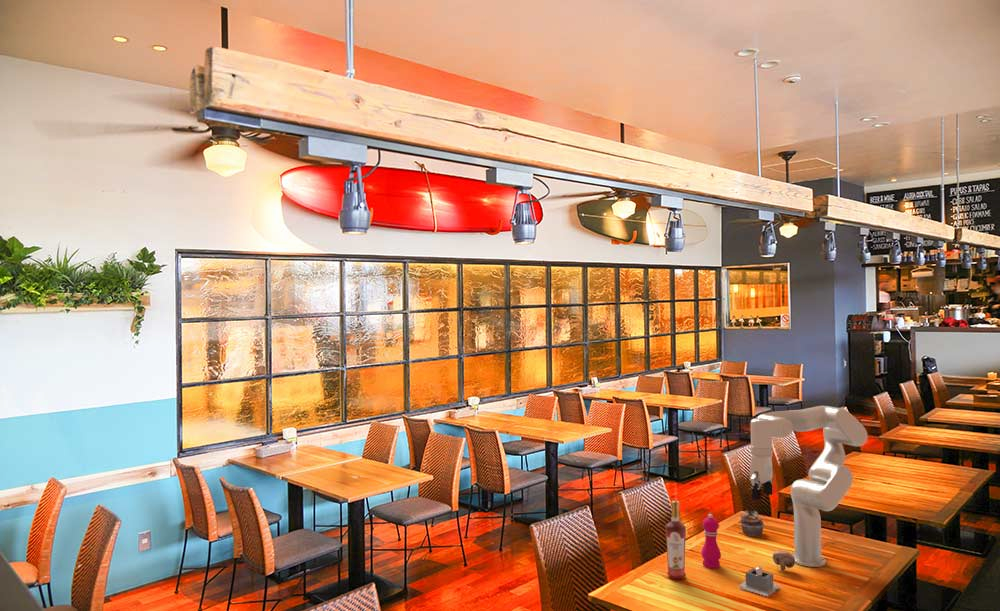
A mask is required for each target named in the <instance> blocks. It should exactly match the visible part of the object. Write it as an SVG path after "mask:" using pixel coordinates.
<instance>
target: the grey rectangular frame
mask: <svg viewBox="0 0 1000 611" xmlns="http://www.w3.org/2000/svg"><path fill="white" fill-rule="evenodd" d="M745 581H746V584H747V585H750V586H754V587H757V588H760V589H764V590H768V589H769V588H771V587H772V586H773V583H774V574H773V573H770V572H766V571H763V570H762V576H759V575H756V568H751V569H749V570H748V571H746V572H745Z"/></svg>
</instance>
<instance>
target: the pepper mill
mask: <svg viewBox="0 0 1000 611" xmlns="http://www.w3.org/2000/svg"><path fill="white" fill-rule="evenodd" d="M702 527H703V529H704V530H703V534H704V535H705V536H704V537H705V540H704V543H703V546H702V548H701V557H702V558H703V559H702V566H704V567H705V568H707V569H710V570H711V569H714V570H715V569H719V568H720V566H721V563H720V559H721V557H722V552H721V549H720V547H719V545H718V542H717V536H718V530H719V527H720V525H719V522H718V520H717V519H716V518H714V516H713V514H712V513H709V514H708V515H707V517H705V518H704V519H703V521H702Z"/></svg>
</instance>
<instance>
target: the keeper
mask: <svg viewBox="0 0 1000 611" xmlns="http://www.w3.org/2000/svg"><path fill="white" fill-rule="evenodd" d="M755 569H756V575H759V576H762V571H763V567H760V566H757V567H755ZM738 586H739V588H740V590H743V591H746V590H747V592H749V591H750V592H749V593H752V592H754V593H753V594H755V593H757V594H756V595H758V594H760V596H762V595H763V596H762V597H765V596H767V597H766V598H769V597H770V596H771V595H772V593H773V592H774V593H775V592H777V591H778V590H779V589H780V584H779V583H774V582H773V586H772V587H771V588H769V589H768V590H764V589H760V588H757V587H754V586H750V585H747V584H746V580H745V581H744V582H742V583H740V584H739V585H738ZM777 589H778V590H777ZM776 590H777V591H776ZM774 593H773V594H774ZM769 595H770V596H769ZM768 596H769V597H768Z"/></svg>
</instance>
